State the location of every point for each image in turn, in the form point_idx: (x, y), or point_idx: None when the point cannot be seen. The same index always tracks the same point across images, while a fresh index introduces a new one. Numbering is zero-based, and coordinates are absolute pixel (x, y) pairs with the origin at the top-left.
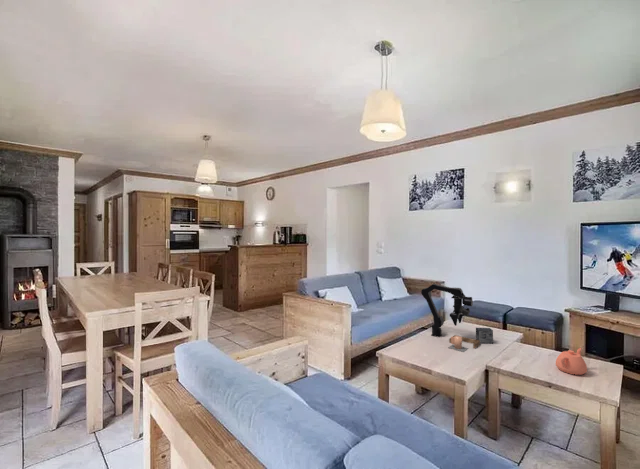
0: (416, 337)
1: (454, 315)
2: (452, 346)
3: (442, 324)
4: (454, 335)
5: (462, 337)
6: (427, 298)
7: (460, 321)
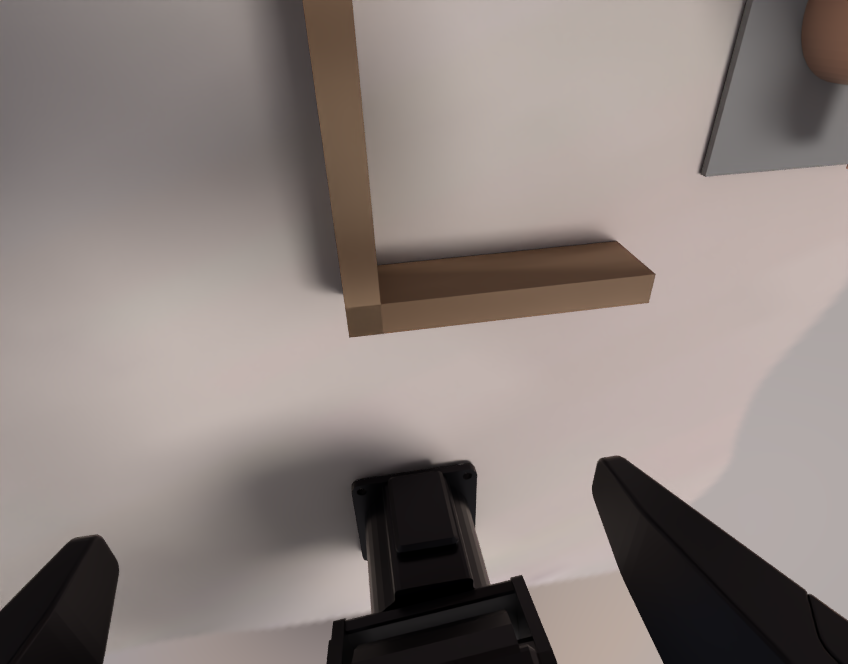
0: None
1: None
2: (827, 126)
3: (451, 659)
4: (386, 328)
5: (364, 152)
6: None
7: (66, 610)
